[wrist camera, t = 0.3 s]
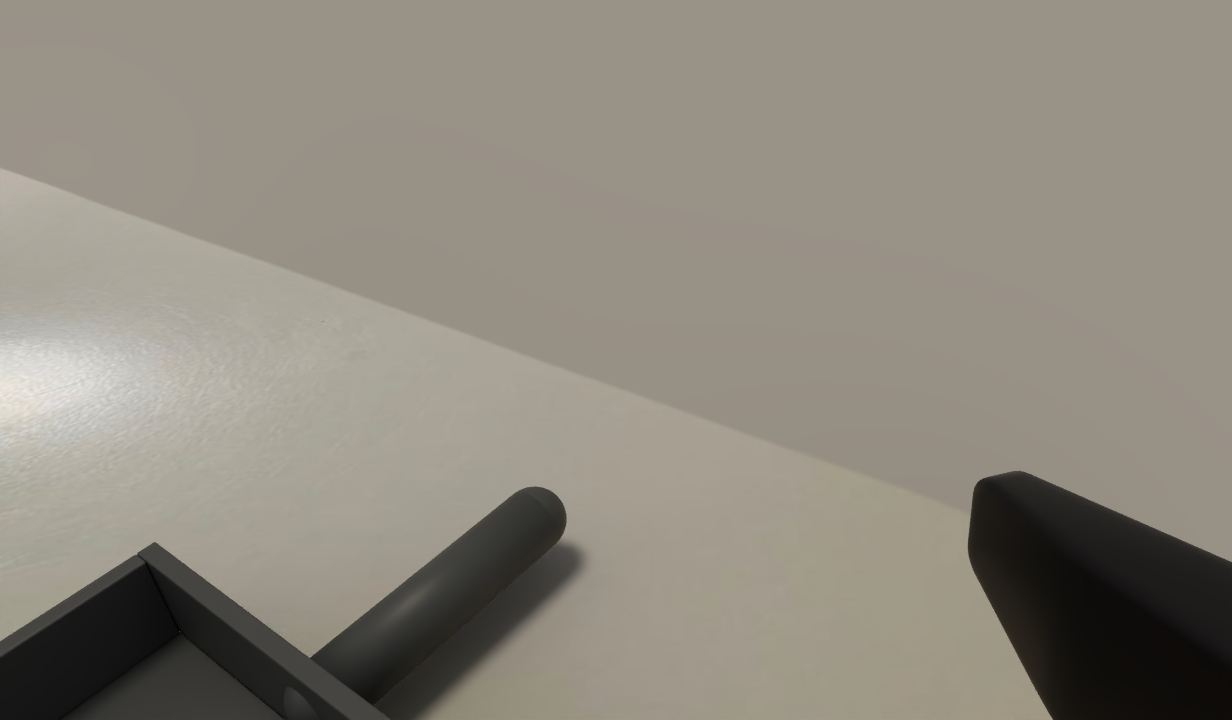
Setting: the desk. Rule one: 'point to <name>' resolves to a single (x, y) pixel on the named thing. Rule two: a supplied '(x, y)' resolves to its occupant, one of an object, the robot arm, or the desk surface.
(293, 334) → the desk surface
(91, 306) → the desk surface
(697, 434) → the desk surface
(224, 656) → the dustpan
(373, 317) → the desk surface
